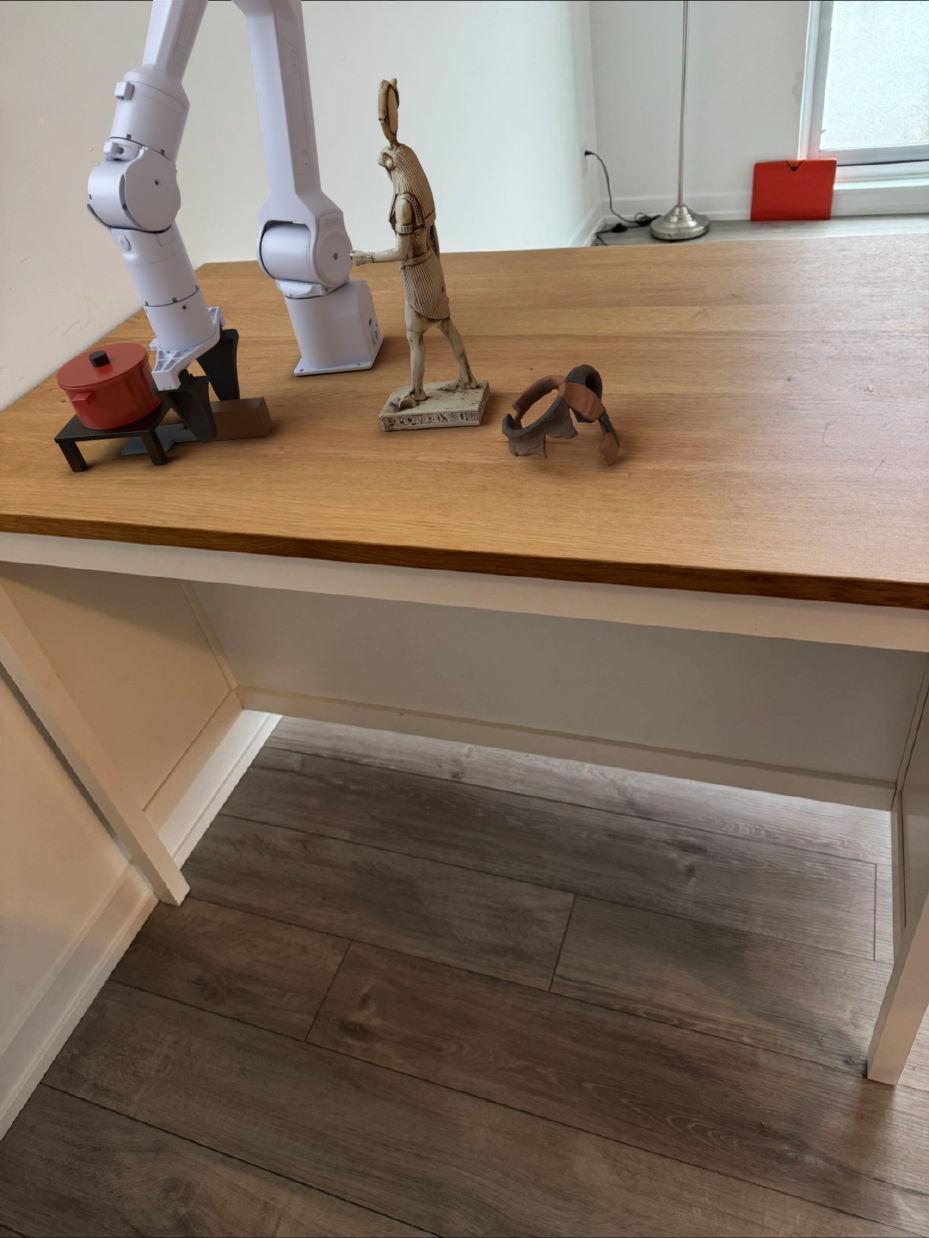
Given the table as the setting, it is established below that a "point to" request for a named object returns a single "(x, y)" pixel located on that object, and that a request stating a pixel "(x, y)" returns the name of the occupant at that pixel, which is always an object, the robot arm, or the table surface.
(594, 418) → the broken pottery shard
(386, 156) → the statue
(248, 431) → the spatula
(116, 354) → the pot
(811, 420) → the table surface
